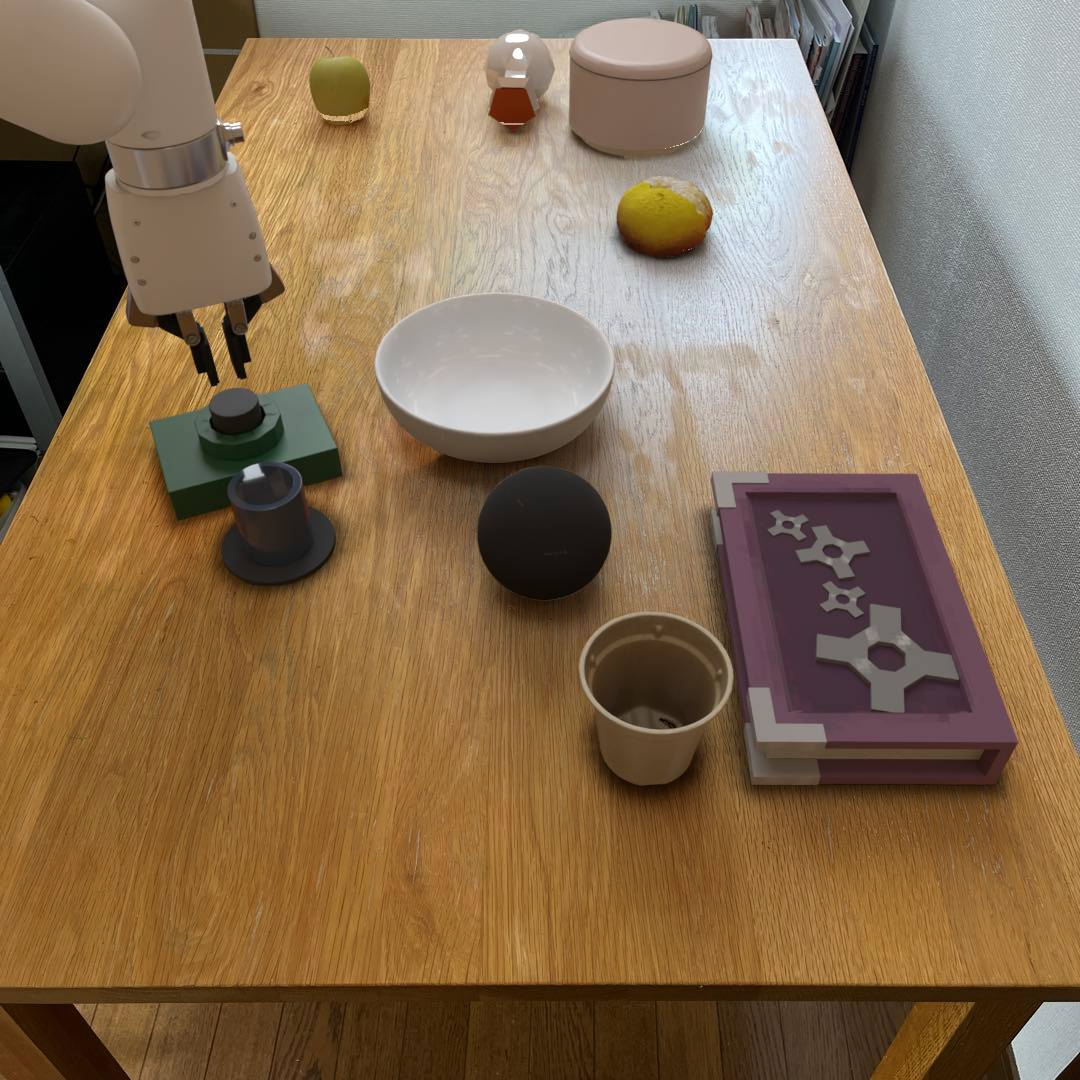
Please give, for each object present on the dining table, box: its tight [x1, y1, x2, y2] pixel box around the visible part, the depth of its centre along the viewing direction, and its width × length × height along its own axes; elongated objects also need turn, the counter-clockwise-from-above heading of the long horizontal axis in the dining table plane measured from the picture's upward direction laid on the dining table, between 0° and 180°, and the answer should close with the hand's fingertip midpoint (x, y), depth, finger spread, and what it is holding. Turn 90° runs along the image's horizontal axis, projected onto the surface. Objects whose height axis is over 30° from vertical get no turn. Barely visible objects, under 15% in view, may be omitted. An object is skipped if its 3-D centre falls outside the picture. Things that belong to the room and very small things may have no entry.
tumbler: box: [227, 462, 314, 566], centre depth 81 cm, size 6×6×6 cm
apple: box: [308, 45, 371, 126], centre depth 138 cm, size 8×8×10 cm
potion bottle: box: [483, 28, 556, 133], centre depth 140 cm, size 9×10×15 cm
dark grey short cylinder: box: [208, 387, 262, 436], centre depth 87 cm, size 4×4×2 cm
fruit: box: [616, 175, 714, 259], centre depth 117 cm, size 11×10×8 cm
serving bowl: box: [373, 292, 616, 464], centre depth 93 cm, size 21×21×7 cm
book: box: [709, 470, 1019, 786], centre depth 75 cm, size 25×16×5 cm, turn 0°
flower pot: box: [578, 610, 734, 787], centre depth 67 cm, size 9×9×9 cm
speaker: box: [476, 465, 613, 602], centre depth 77 cm, size 10×10×10 cm
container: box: [568, 17, 713, 158], centre depth 134 cm, size 18×18×12 cm
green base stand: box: [148, 382, 344, 522], centre depth 89 cm, size 14×10×5 cm
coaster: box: [220, 505, 337, 587], centre depth 83 cm, size 9×9×1 cm
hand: (225, 372), depth 84 cm, fingers closed
